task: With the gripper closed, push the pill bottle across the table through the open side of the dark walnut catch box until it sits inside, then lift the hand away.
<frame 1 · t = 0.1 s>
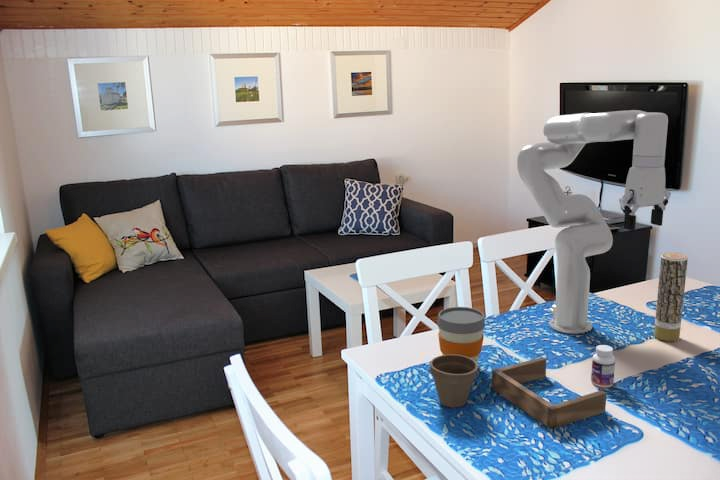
hand: (642, 227, 173), 37 cm above the table, tool pointing down, fingers open, 9 cm apart
flower pot: (453, 402, 161), on the table
catch box: (546, 399, 160), on the table
brown upright cylinder piece: (666, 338, 193), on the table
reusable coffee cup: (460, 367, 179), on the table
pill bottle: (601, 384, 167), on the table
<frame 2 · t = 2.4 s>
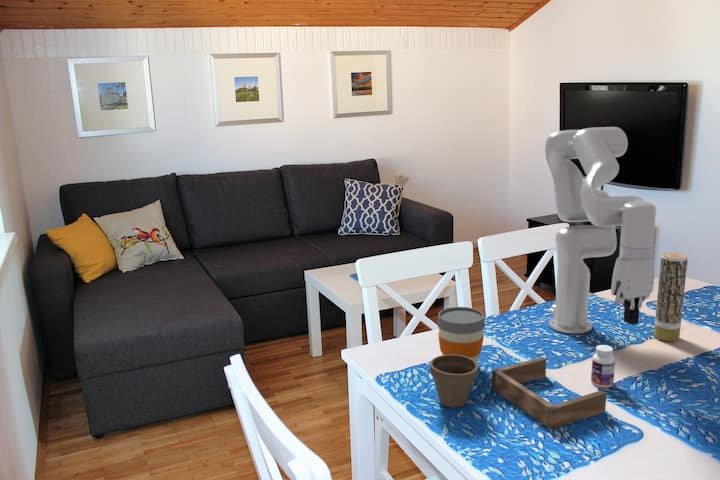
hand: (630, 322, 166), 15 cm above the table, tool pointing down, fingers closed
nothing on the table moved.
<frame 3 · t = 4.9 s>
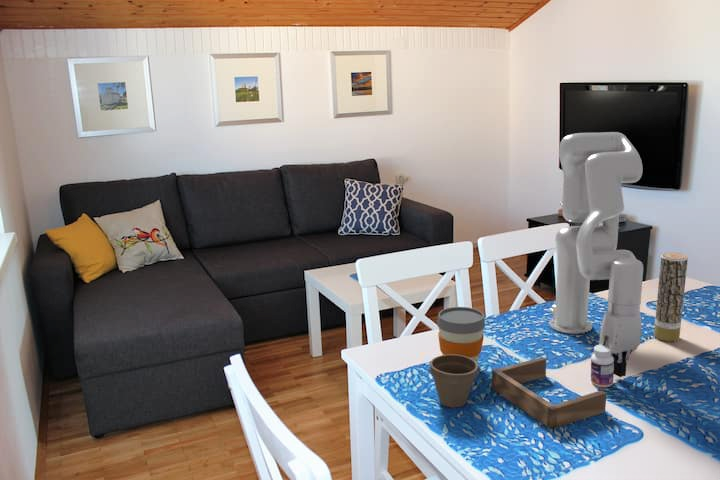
hand: (618, 374, 169), 1 cm above the table, tool pointing down, fingers closed
nothing on the table moved.
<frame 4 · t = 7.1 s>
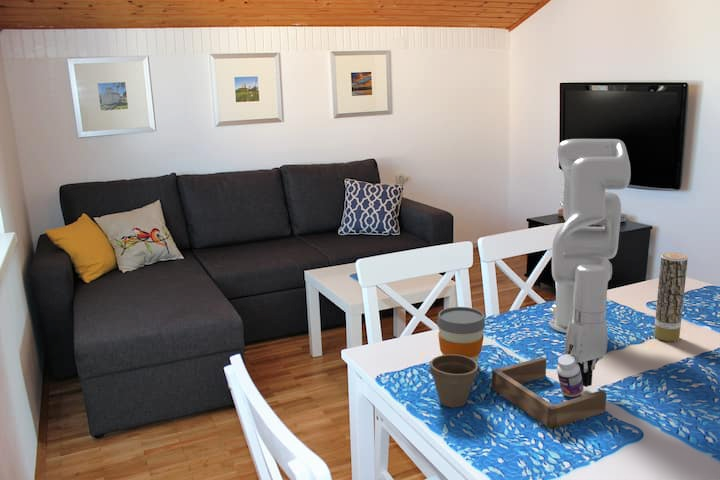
hand: (584, 383, 164), 2 cm above the table, tool pointing down, fingers closed
pill bottle: (572, 390, 163), point 1 cm above the table, touching gripper
everything else where it was.
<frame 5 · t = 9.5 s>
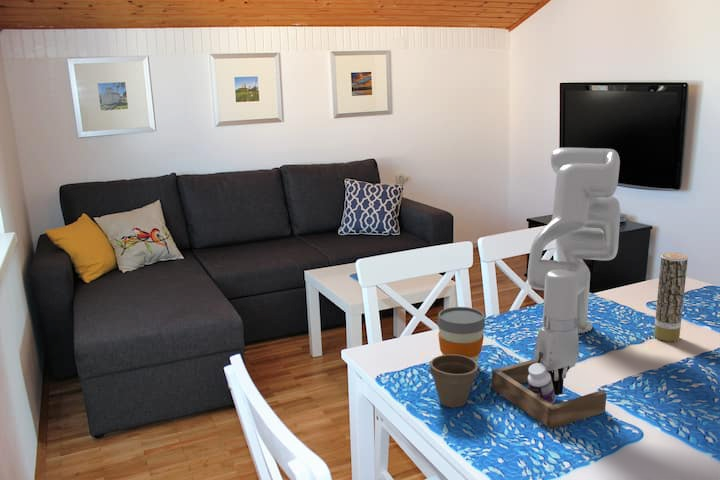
hand: (555, 392, 160), 2 cm above the table, tool pointing down, fingers closed
pill bottle: (544, 400, 159), point 1 cm above the table, touching gripper
everything else where it was.
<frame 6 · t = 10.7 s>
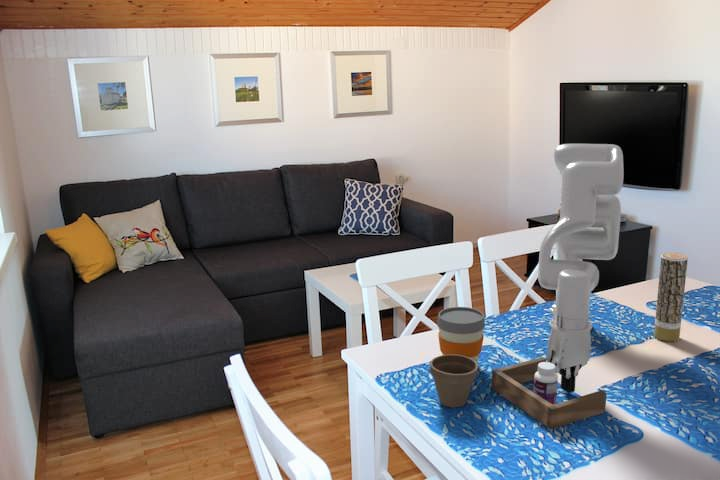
hand: (567, 390, 163), 1 cm above the table, tool pointing down, fingers closed
pill bottle: (544, 403, 159), on the table
everything else where it was.
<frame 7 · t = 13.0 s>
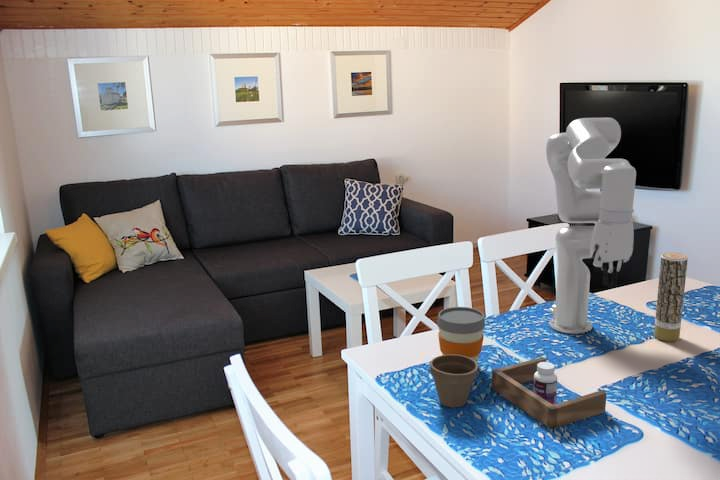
hand: (609, 285, 166), 24 cm above the table, tool pointing down, fingers closed
nothing on the table moved.
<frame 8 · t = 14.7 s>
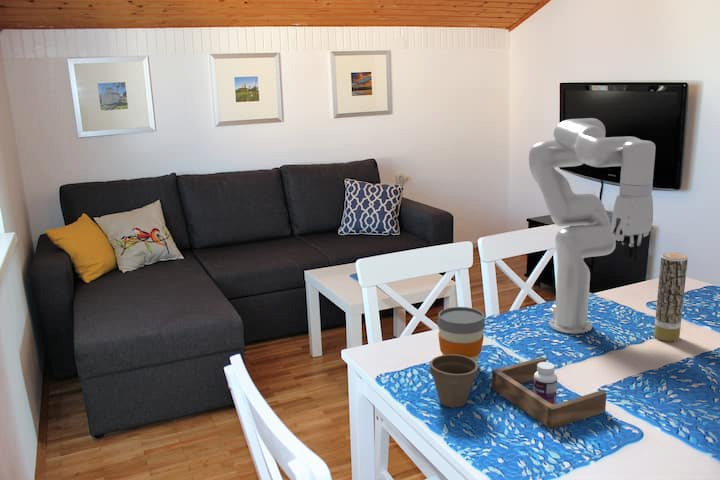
hand: (629, 259, 170), 29 cm above the table, tool pointing down, fingers closed
nothing on the table moved.
at the end: pill bottle inside the target area on the catch box (0.8 cm from its centre), point 0.0 cm above the catch box's base; pill bottle moved 19.2 cm from its start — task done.
